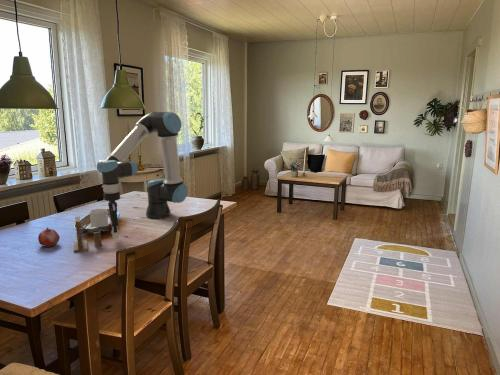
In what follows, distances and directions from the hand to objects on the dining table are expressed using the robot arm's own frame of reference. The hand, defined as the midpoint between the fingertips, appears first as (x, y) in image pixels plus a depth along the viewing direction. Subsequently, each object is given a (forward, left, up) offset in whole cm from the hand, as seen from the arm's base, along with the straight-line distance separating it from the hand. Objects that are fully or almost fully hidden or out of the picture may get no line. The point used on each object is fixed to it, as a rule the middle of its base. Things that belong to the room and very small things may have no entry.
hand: (115, 235), depth 187 cm
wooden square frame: (+16, 0, -3) cm, 17 cm away
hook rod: (+8, 0, +1) cm, 8 cm away
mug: (+5, -25, -4) cm, 25 cm away
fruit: (+30, -9, -4) cm, 32 cm away
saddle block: (+8, 0, -3) cm, 9 cm away
